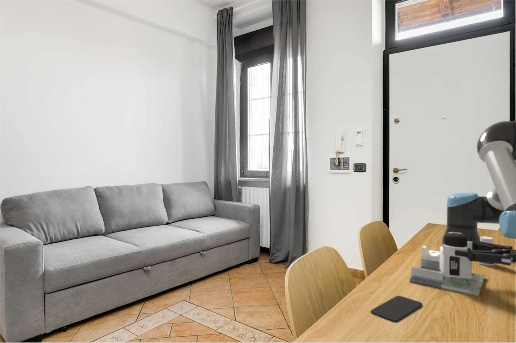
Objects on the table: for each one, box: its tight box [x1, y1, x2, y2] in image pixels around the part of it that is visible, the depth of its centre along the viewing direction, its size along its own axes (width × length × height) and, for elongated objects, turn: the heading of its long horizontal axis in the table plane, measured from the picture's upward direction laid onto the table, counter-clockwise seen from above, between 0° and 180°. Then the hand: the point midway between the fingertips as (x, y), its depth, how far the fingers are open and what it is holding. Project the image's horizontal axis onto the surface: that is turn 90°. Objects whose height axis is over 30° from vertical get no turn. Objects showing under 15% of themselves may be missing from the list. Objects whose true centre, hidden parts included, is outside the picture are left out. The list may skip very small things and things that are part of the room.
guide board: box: [409, 257, 486, 297], centre depth 109 cm, size 18×18×4 cm
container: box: [439, 232, 473, 279], centre depth 107 cm, size 8×8×13 cm
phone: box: [370, 295, 423, 323], centre depth 89 cm, size 7×1×15 cm
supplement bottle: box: [477, 236, 496, 267], centre depth 124 cm, size 5×5×10 cm
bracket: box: [421, 245, 440, 260], centre depth 124 cm, size 13×7×8 cm, turn 142°
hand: (446, 246), depth 108 cm, fingers closed on container, 9 cm apart
